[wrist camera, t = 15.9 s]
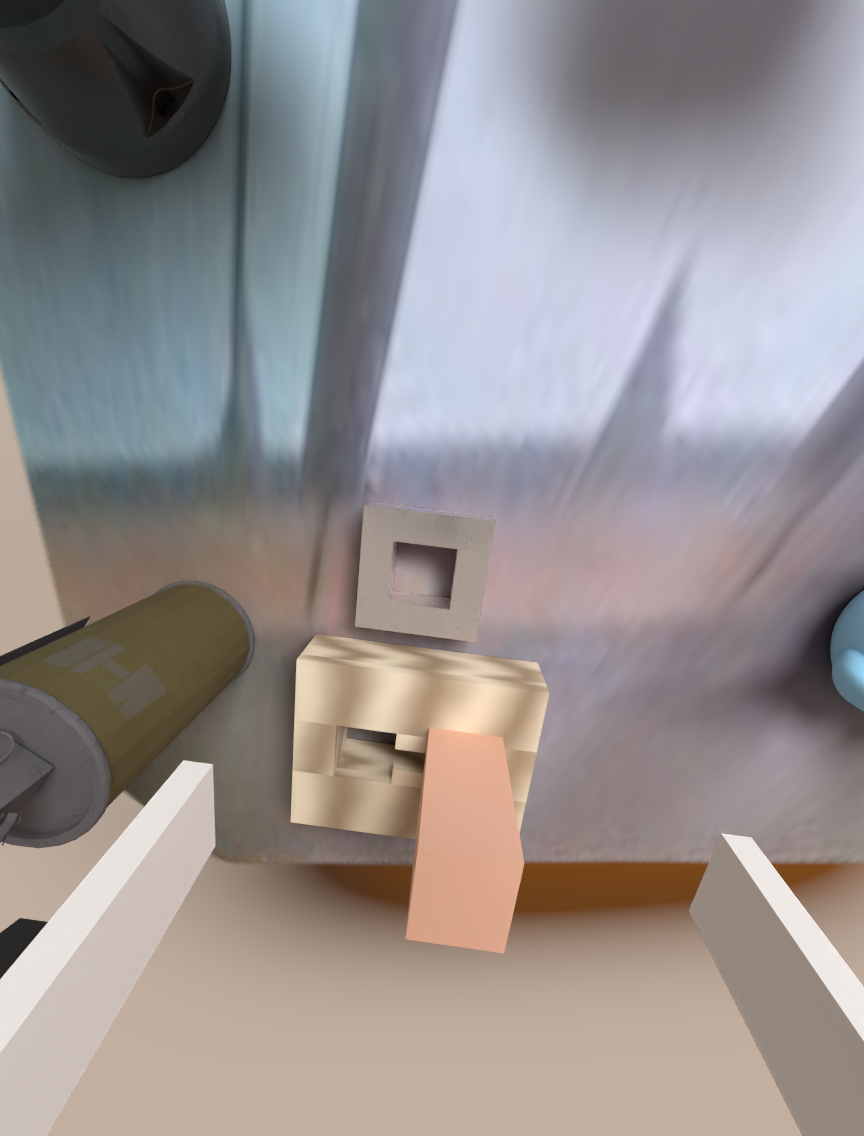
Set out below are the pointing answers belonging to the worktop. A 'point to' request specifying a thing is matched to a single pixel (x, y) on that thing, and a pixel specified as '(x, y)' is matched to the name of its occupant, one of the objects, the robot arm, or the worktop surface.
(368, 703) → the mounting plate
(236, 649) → the canister
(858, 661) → the teapot
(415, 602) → the frame
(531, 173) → the worktop surface
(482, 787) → the stud block
